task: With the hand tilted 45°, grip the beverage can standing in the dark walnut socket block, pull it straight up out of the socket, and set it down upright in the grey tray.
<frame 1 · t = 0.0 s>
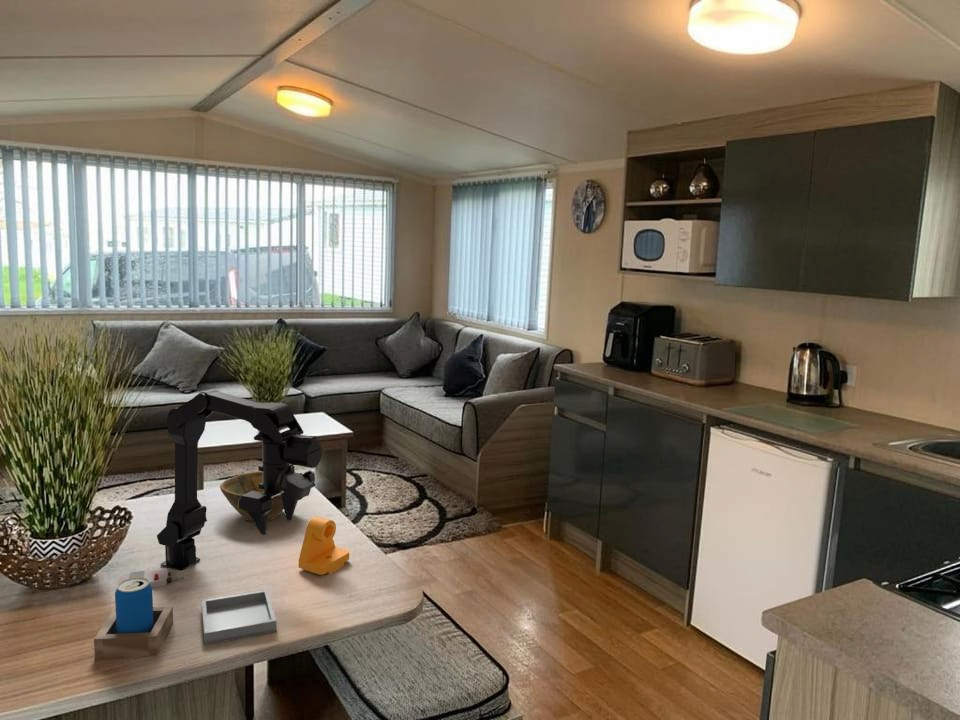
hand: (276, 527, 156), 15 cm above the table, tool pointing down, fingers open, 9 cm apart
bracket: (325, 566, 170), on the table
tray: (238, 621, 144), on the table
beverage can: (136, 641, 136), resting in socket block
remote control: (147, 583, 159), on the table
socket block: (135, 640, 136), on the table
bowl: (261, 516, 199), on the table
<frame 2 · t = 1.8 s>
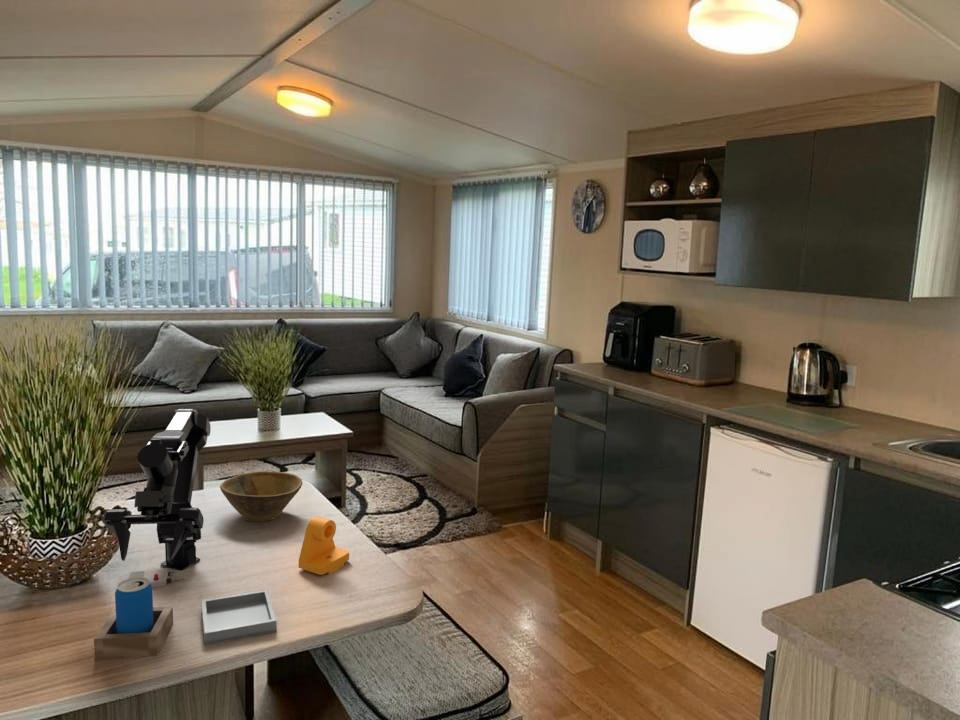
hand: (147, 559, 141), 13 cm above the table, tool tilted 45°, fingers open, 9 cm apart
nothing on the table moved.
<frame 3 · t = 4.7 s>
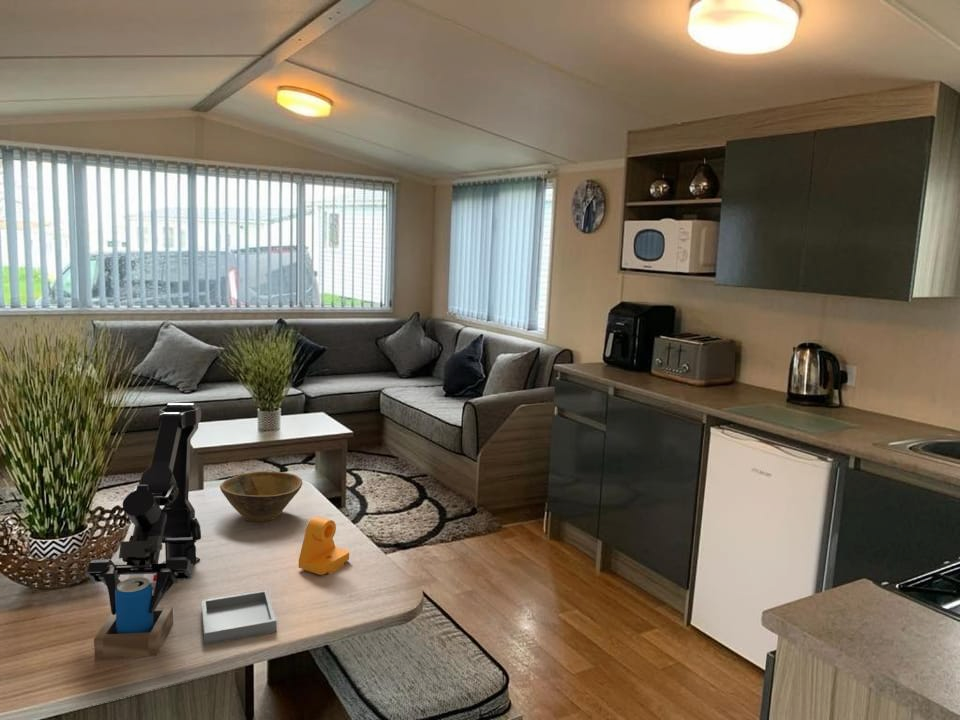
hand: (132, 613, 133), 7 cm above the table, tool tilted 45°, fingers closed on beverage can, 6 cm apart
beverage can: (136, 641, 136), resting in socket block, touching gripper
everything else where it was.
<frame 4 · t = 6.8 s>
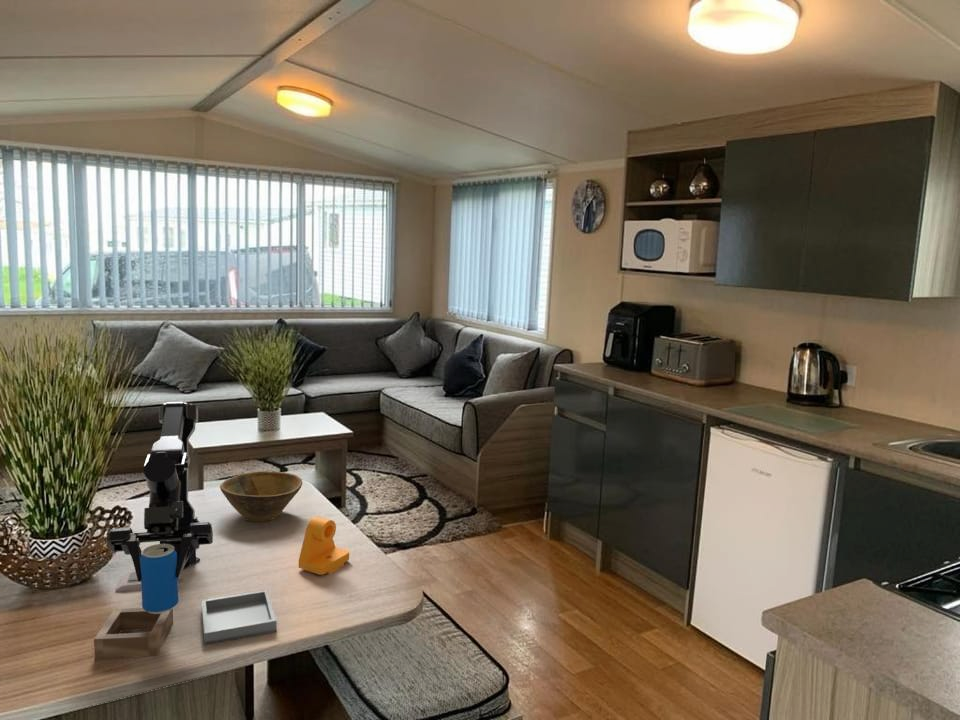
hand: (158, 579, 133), 13 cm above the table, tool tilted 45°, fingers closed on beverage can, 6 cm apart
beverage can: (160, 608, 136), point 6 cm above the table, touching gripper
everything else where it was.
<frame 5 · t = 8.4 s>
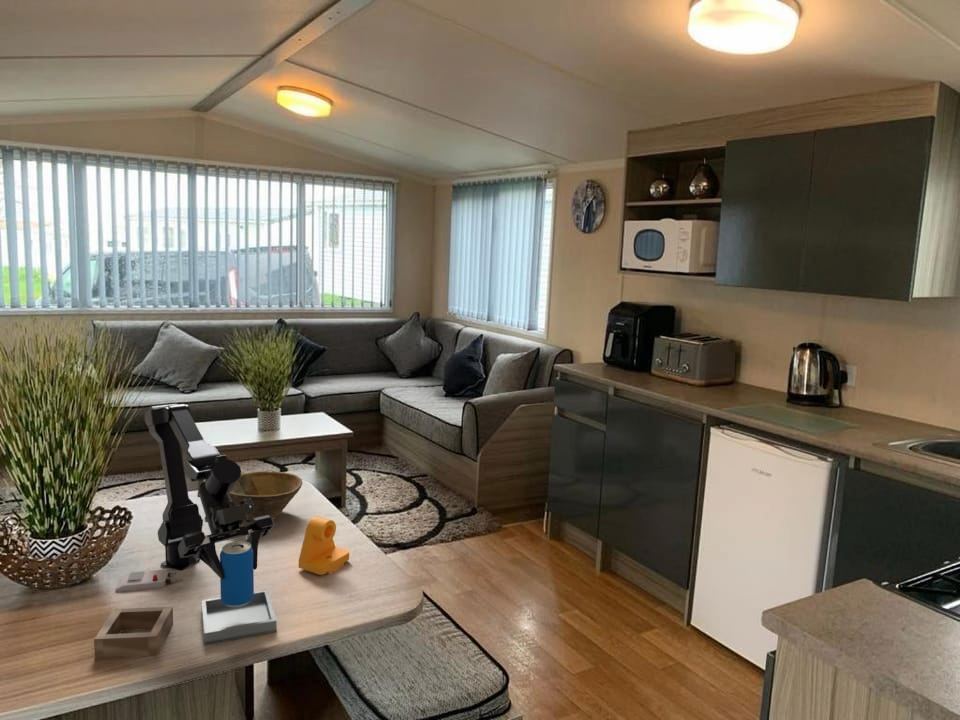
hand: (239, 573, 141), 11 cm above the table, tool tilted 45°, fingers closed on beverage can, 6 cm apart
beverage can: (237, 602, 143), point 4 cm above the table, touching gripper
everything else where it was.
when the fingers open (9 cm above the table, at t = 9.3 s): beverage can drops 2 cm, resting on tray.
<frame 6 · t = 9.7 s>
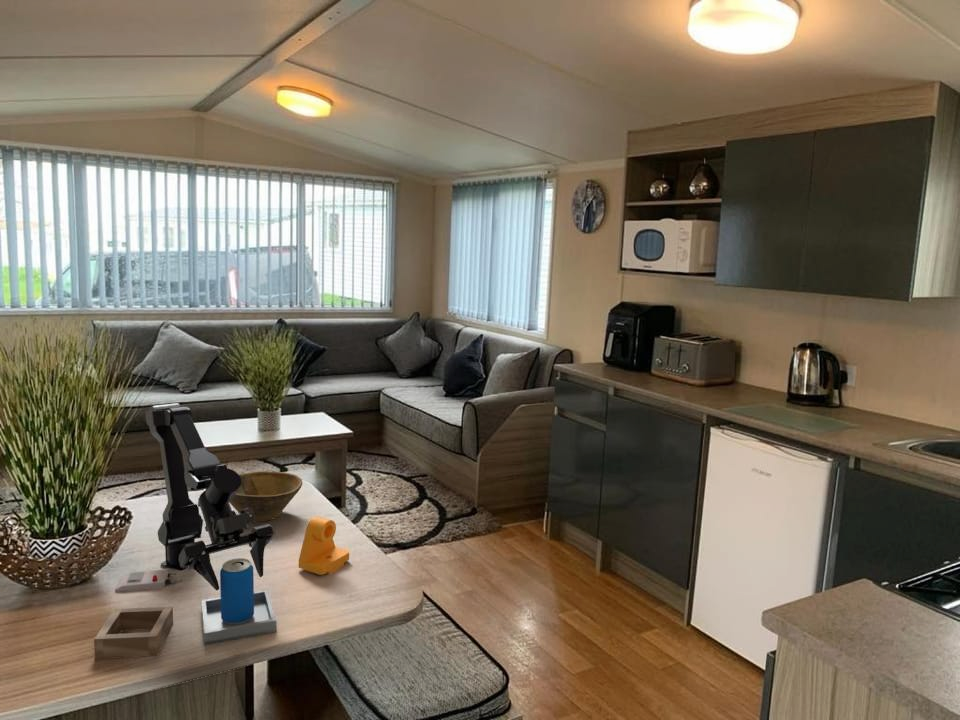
hand: (240, 582, 141), 9 cm above the table, tool tilted 45°, fingers open, 9 cm apart
beverage can: (237, 619, 144), resting on tray
everything else where it was.
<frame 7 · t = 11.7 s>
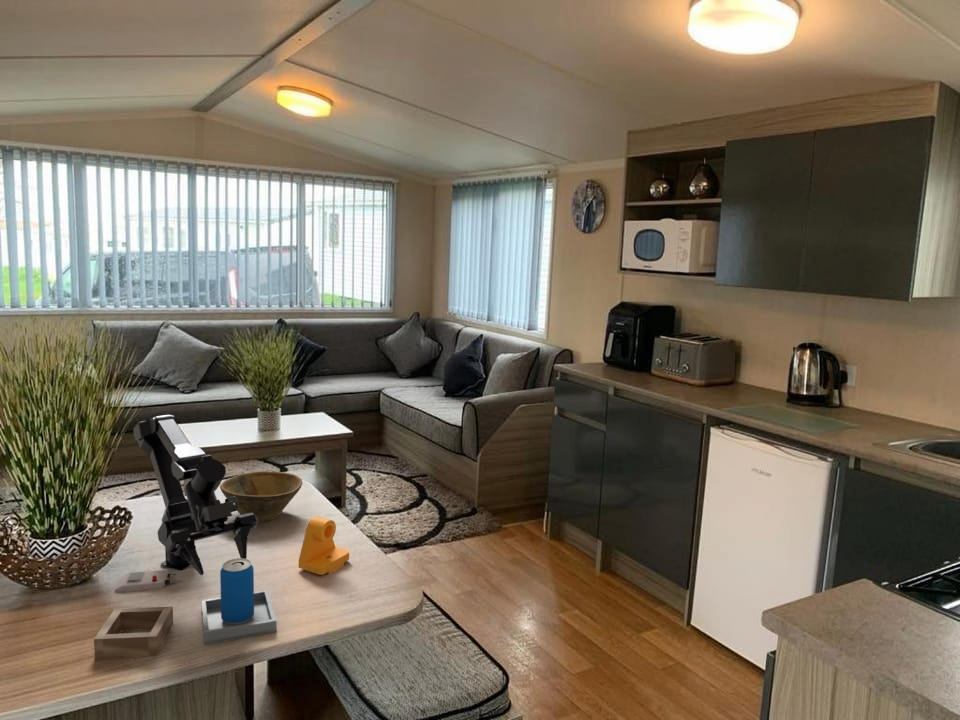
hand: (224, 568, 148), 9 cm above the table, tool tilted 45°, fingers open, 9 cm apart
nothing on the table moved.
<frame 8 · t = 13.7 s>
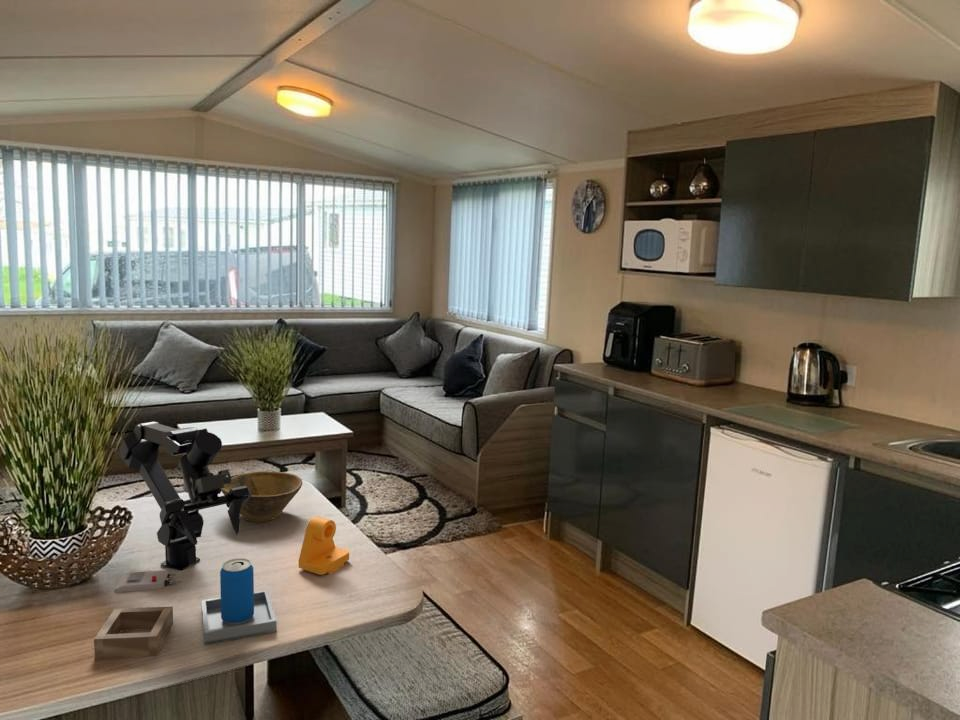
hand: (217, 538, 151), 14 cm above the table, tool tilted 45°, fingers open, 9 cm apart
nothing on the table moved.
at the end: beverage can inside the target area on the tray (0.1 cm from its centre), point 0.4 cm above the tray's base; beverage can tilted 0°; the gripper is holding nothing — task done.
